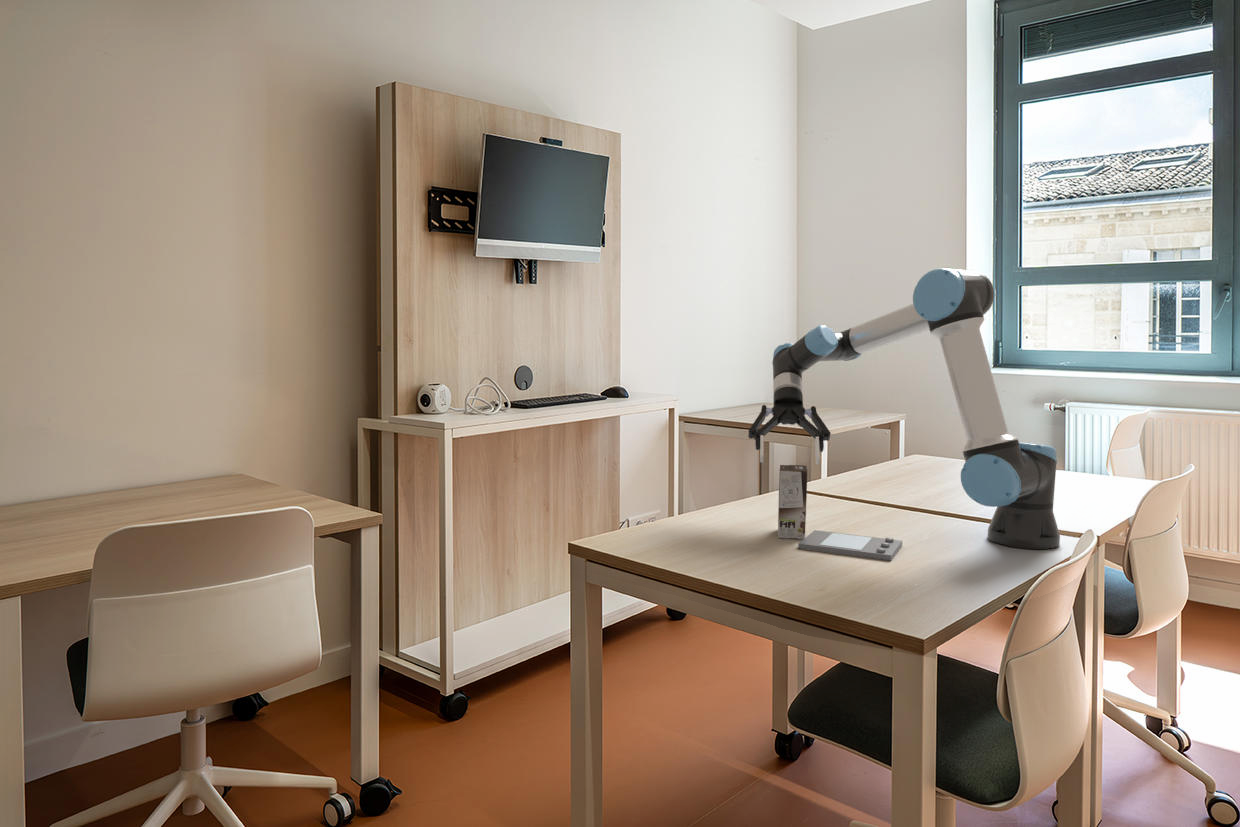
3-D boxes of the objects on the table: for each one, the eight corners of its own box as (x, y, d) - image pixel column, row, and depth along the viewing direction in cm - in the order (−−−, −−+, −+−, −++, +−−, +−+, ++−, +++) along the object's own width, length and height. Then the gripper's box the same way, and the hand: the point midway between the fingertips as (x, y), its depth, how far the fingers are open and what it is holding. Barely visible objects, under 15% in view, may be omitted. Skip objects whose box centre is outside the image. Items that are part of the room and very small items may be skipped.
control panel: (902, 545, 194) (902, 538, 193) (890, 560, 181) (891, 552, 181) (814, 535, 203) (814, 527, 203) (798, 548, 190) (798, 540, 190)
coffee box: (805, 540, 198) (807, 471, 196) (777, 538, 200) (779, 470, 198) (805, 530, 207) (807, 464, 205) (778, 529, 208) (779, 463, 207)
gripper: (835, 404, 226) (839, 470, 212) (739, 402, 229) (738, 467, 216) (838, 385, 220) (843, 452, 207) (740, 384, 223) (739, 449, 210)
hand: (789, 460), depth 211 cm, fingers open, 13 cm apart
